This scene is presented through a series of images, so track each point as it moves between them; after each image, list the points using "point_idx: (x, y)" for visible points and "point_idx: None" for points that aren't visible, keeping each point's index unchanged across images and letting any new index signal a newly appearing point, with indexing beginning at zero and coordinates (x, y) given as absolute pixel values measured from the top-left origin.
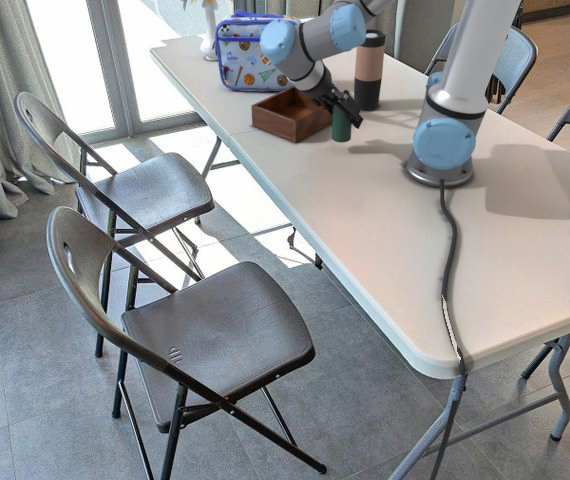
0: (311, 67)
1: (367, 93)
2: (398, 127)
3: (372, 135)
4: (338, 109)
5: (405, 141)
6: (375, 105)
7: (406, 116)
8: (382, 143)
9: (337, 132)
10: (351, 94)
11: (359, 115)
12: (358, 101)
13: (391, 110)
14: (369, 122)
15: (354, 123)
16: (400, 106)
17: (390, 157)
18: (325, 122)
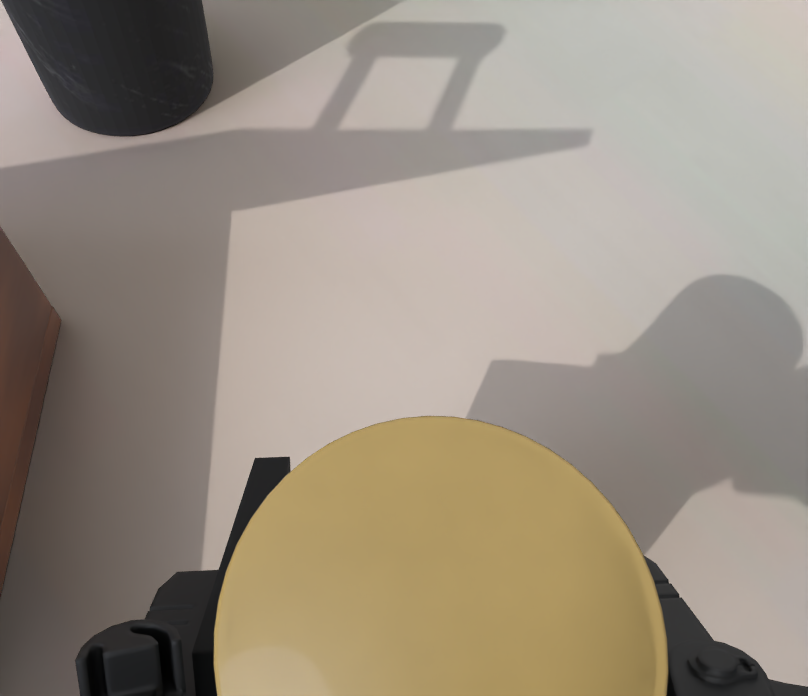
0: None
1: (145, 20)
2: (477, 178)
3: (425, 349)
4: None
5: (640, 286)
6: (208, 65)
7: (419, 65)
8: (559, 397)
9: None
10: (529, 465)
11: (666, 583)
12: (98, 92)
13: (303, 54)
14: (287, 223)
15: None
16: (314, 3)
17: (757, 529)
18: (16, 442)
